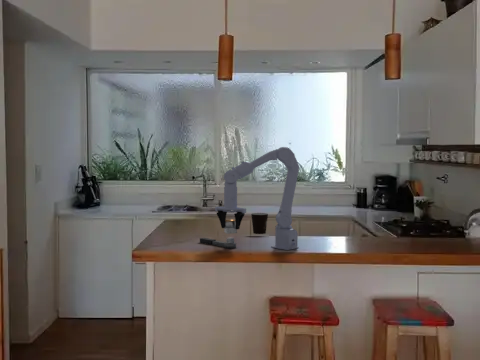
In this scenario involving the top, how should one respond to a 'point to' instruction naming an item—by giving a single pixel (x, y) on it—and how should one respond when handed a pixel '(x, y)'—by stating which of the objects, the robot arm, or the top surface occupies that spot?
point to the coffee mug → (259, 222)
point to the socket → (230, 227)
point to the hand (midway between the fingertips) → (230, 228)
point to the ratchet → (229, 244)
